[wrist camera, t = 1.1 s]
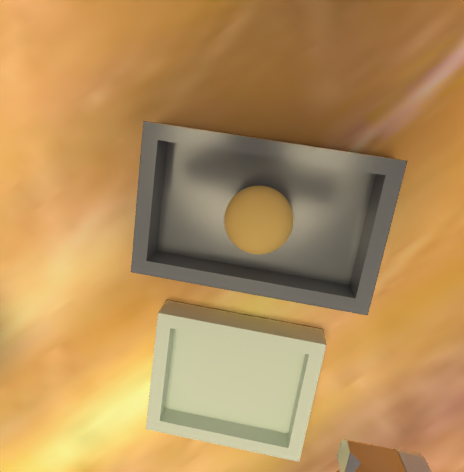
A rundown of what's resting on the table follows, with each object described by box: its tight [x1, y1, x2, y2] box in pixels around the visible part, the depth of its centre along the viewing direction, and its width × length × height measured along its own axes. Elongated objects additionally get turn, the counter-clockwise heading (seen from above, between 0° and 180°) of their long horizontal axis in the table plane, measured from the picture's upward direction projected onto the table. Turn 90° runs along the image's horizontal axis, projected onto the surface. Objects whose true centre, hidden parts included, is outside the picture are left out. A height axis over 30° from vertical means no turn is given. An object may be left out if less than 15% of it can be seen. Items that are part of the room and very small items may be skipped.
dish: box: [131, 121, 407, 315], centre depth 27 cm, size 10×16×3 cm, turn 82°
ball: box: [224, 185, 293, 255], centre depth 25 cm, size 4×4×4 cm
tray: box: [146, 300, 326, 462], centre depth 30 cm, size 10×12×2 cm
